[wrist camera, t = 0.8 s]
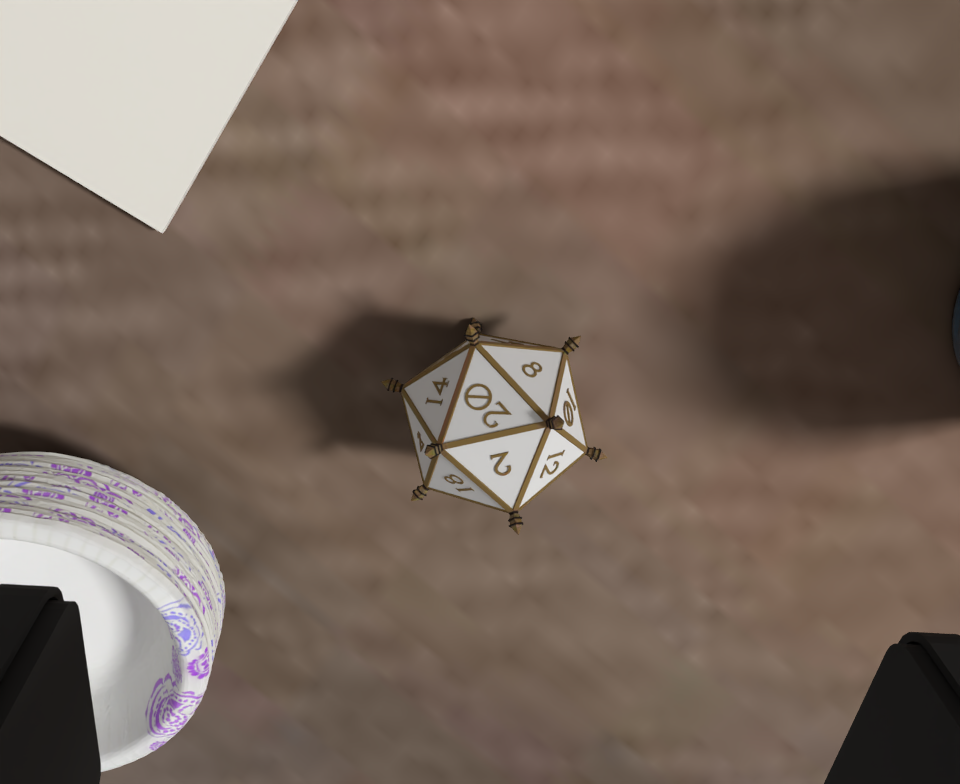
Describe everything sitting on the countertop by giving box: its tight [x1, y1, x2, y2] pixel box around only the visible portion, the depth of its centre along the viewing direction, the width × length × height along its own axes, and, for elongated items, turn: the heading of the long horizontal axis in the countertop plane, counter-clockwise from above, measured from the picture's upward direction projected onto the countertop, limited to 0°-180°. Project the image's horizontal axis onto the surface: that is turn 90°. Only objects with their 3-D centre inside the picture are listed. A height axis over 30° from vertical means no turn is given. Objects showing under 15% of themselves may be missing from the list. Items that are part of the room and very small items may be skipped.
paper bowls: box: [0, 452, 225, 772], centre depth 38 cm, size 15×15×8 cm
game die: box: [381, 318, 607, 535], centre depth 35 cm, size 9×8×10 cm
